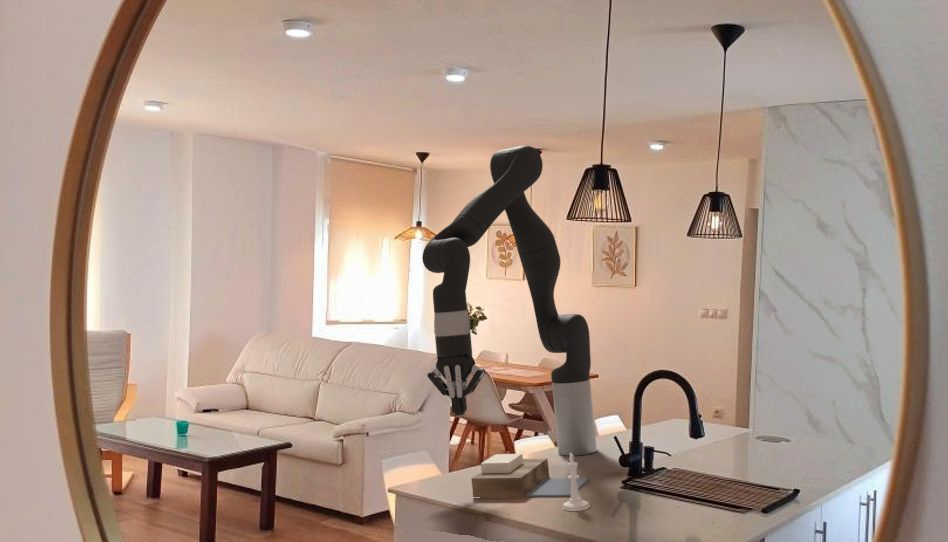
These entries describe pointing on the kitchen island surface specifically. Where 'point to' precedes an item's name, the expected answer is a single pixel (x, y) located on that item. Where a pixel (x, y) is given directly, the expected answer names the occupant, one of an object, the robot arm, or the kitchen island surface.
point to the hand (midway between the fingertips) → (459, 414)
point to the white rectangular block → (502, 463)
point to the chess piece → (574, 490)
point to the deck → (511, 480)
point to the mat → (555, 487)
